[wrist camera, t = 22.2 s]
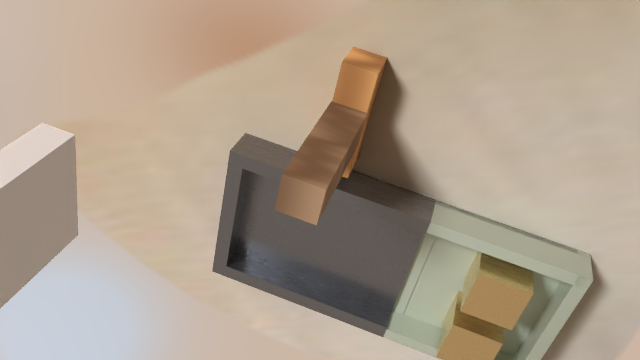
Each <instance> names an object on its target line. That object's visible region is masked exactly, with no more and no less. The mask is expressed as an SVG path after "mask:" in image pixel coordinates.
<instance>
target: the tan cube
mask: <svg viewBox="0 0 640 360" xmlns="http://www.w3.org/2000/svg"><path fill="white" fill-rule="evenodd" d="M462 295H463V292H461V291H458V292H457V294H456V296H455V298H454V300H453V302H452V304H451V306H450V308H449V310H448V312H447V314H446V316H445V318H444V320H443V322H442V328H441V333H440V339H439V344H438V350H437V355H436V357H437V358H440V359H442V360H494V358H495V357H496V355H497V353H498V352H499V350H500V348H501V347H502V345H503V339H504V327H501V326H498V325H496V324H493V323H490V322H488V321H485V320H482V319H480V318H477V317H474V316H472V315H469V314H466V313H464V312H461V311H460V308H461V302H462Z"/></svg>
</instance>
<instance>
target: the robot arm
mask: <svg viewBox="0 0 640 360" xmlns="http://www.w3.org/2000/svg"><path fill="white" fill-rule="evenodd" d="M77 235H78V217H77V184H76V151H75V135H74V134H71V133H69V132H66V131H63V130H61V129H58V128H55V127H52V126H50V125H47V124H44V123H41V124H40V125H38V126H37V127H35V128H33V129H32V130H30V131H29V132H27V133H26V134H24V135H23V136H21V137H20V138H18V139H16V140H15V141H13V142H12V143H10V144H9V145H7V146H6V147H4V148H3V149H1V150H0V308H1V307H2V306H3V305H4V304H5V303H7V302H8V301H9V300H10V299H11V298H12V297H13V296H14V295H15V294H16V293H17V292H18V291H19V290H20V289H21V288H22V287H23V286H24V285H26V284H27V282H29V281H30V280H31V279H32V278H33V277H34V276H35V275H36V274H37V273H38V272H39V271H40V270H41V269H42V268H44V267H45V266H46V265H47V264H48V263H49V262H50V261H51V260H52V259H53V258H54V257H55V256H56V255H57V254H58V253H59V252H60V251H61V250H62V249H63V248H65V247H66V246H67V245H68V244H69V243H70V242H71V241H72V240H73V239H74V238H75V237H76V236H77Z"/></svg>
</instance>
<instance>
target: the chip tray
mask: <svg viewBox="0 0 640 360" xmlns="http://www.w3.org/2000/svg"><path fill="white" fill-rule="evenodd" d="M478 251H479V252H482V253H485V254H487V255H490V256H493V257H496V258H499V259H501V260H504V261H507V262H510V263H512V264H515V265H518V266H521V267H524V268H526V269H529V270H532V271H534V282H533V295H532V297H531V299H530V300H529V302H528V304H527V305H526V307H525V309H524V310H523V312H522V314H521V315H520V317H519V319H518V321H517V322H516V324H515V326H514V327H513V329H512V330H509V329H507V328H504V339H503V345H502V347H501V348H500V350H499V352H498V353H497V355H496V357H495V358H494V360H541V359H542V357H543V355H544V354H545V352H546V351H547V349H548V348H549V346H550V345H551V343H552V342H553V340H554V339H555V337H556V336H557V334H558V333H559V331H560V330H561V328H562V327H563V325H564V324H565V322H566V321H567V319H568V318H569V316H570V315H571V313H572V312H573V310H574V309H575V307H576V306H577V304H578V303H579V301H580V300H581V298H582V297H583V295H584V294H585V292H586V291H587V289H588V288H589V286H590V285H591V283H592V282H593V273H592V265H591V257H590V254H587V253H584V252H581V251H579V250H576V249H573V248H570V247H567V246H564V245H561V244H559V243H556V242H553V241H550V240H547V239H544V238H542V237H539V236H536V235H533V234H530V233H527V232H525V231H522V230H519V229H516V228H513V227H510V226H508V225H505V224H502V223H499V222H496V221H493V220H490V219H488V218H485V217H482V216H479V215H476V214H473V213H471V212H468V211H465V210H462V209H459V208H456V207H454V206H451V205H448V204H445V203H442V202H439V201H436V203H435V207H434V211H433V215H432V219H431V223H430V225H429V227H428V230H427V232H426V235H425V234H423V236H422V239H421V241H420V244H419V246H418V249H417V251H416V253H415V256H414V258H413V261H412V263H411V266H410V268H409V271H408V273H407V276H406V278H405V280H404V283H403V285H402V288H401V290H400V293H399V295H398V298H397V300H396V302H395V305H394V307H393V310H392V312H391V316H390V319H389V323H388V326H387V329H386V332H385V334H384V338H387V339H389V340H392V341H395V342H397V343H400V344H402V345H405V346H407V347H410V348H413V349H415V350H418V351H420V352H423V353H426V354H428V355H431V356H433V357H436V355H437V350H438V344H439V339H440V333H441V328H442V322H443V320H444V318H445V316H446V314H447V312H448V310H449V308H450V306H451V304H452V302H453V300H454V298H455V296H456V294H457V292H458V291H461V292H463V288H464V282H465V277H466V275H467V273H468V271H469V268H470V266H471V264H472V262H473V260H474V258H475V256H476V254H477V252H478ZM436 358H437V357H436ZM439 359H440V358H439ZM441 360H442V359H441Z"/></svg>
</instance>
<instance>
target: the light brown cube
mask: <svg viewBox="0 0 640 360" xmlns="http://www.w3.org/2000/svg"><path fill="white" fill-rule="evenodd" d="M533 282H534V271H532V270H529V269H526V268H524V267H521V266H518V265H515V264H512V263H510V262H507V261H504V260H501V259H499V258H496V257H493V256H490V255H487V254H485V253H482V252H479V251H478V252H477V254H476V256H475V258H474V260H473V262H472V264H471V266H470V268H469V271H468V273H467V275H466V277H465V282H464V288H463V295H462V302H461V308H460V311H461V312H464V313H466V314H469V315H472V316H474V317H477V318H480V319H482V320H485V321H488V322H490V323H493V324H496V325H498V326H501V327H504V328H507V329H509V330H512V329H513V327H514V326H515V324H516V322H517V321H518V319H519V317H520V315H521V314H522V312H523V310H524V309H525V307H526V305H527V304H528V302H529V300H530V299H531V297H532V295H533Z"/></svg>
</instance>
